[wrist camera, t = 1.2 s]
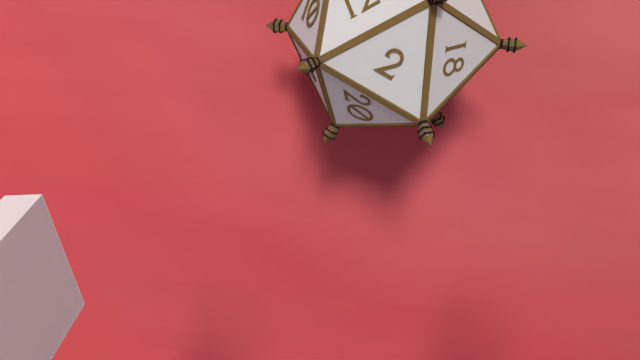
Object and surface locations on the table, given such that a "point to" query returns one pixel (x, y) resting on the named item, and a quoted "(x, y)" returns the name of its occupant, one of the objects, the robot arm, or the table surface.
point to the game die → (391, 57)
